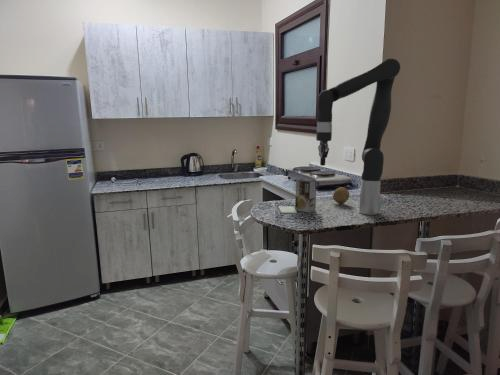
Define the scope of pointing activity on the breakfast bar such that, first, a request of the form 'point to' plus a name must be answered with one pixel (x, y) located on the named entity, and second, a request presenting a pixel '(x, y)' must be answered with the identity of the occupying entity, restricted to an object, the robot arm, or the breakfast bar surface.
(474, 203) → the breakfast bar surface
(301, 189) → the coffee box
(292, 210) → the mat
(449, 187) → the breakfast bar surface
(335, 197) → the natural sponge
